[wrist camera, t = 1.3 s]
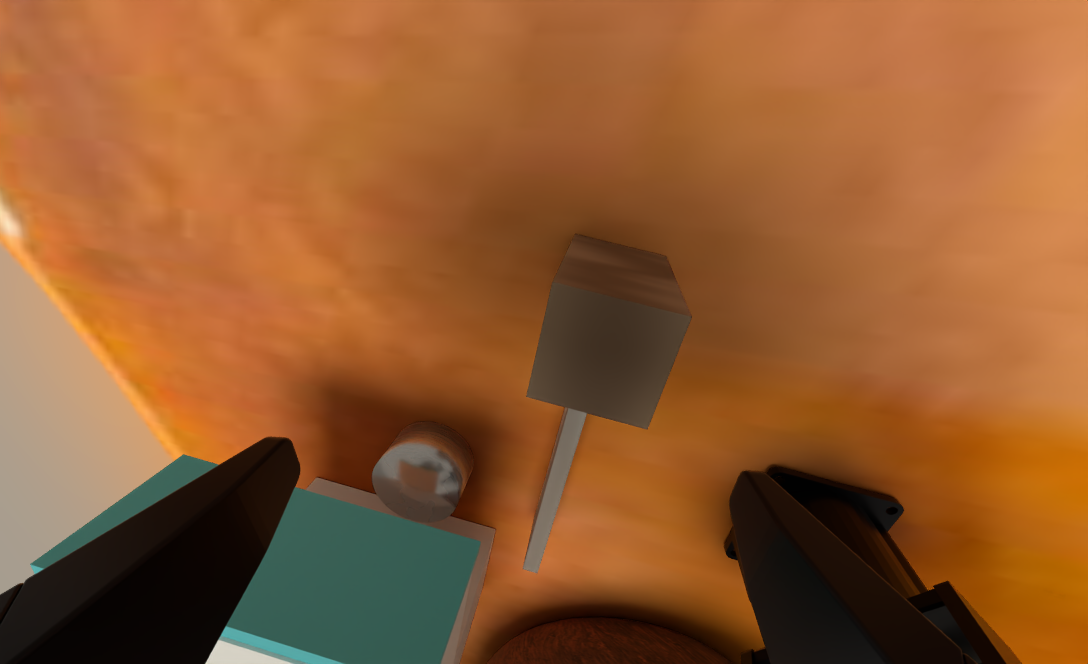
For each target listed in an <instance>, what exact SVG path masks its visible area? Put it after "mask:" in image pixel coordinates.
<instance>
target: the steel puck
mask: <svg viewBox="0 0 1088 664" xmlns="http://www.w3.org/2000/svg"><path fill="white" fill-rule="evenodd" d="M473 467H474V457H473V453H472V451H471V448H470V446H469V445H468V443H467V442H466V441H465V439H464V438H463V437H462V436H461V435H460V434H458V433H457V432H456V431H454V430H453V429H451V428H449V427H447V426H445V425H443V424H440V423H436V422H429V421H422V422H416V423H412V424H410V425H408V426H407V427H405V428H404V429H403V430H402V431H401V432H400V433H399V435H398V436H397V437H396V439H395V440H394V441H393V443H392V444H391V445H390V447H389V448H388V449H387V451H386V452H385V453H384V455H383V456H382V457H381V458H380V460H379V461H378V462H377V464H376V465H375V467H374V469H373V472H372V484H373V487H374V490H375V492H376V494H377V496H378V497H379V499H380V500H381V501H382V502H383V503H384V504H385V505H386V506H387V507H388V508H389V509H390V510H392V511H393V512H395V513H396V514H398V515H400V516H402V517H404V518H406V519H409V520H412V521H416V522H424V523H430V522H437V521H441V520H443V519H445V518H447V517H448V516H450V515H451V514H452V513H453V511H454V510H455V508H456V506H457V504H458V502H459V499H460V497H461V495H462V493H463V490H464V488H465V486H466V484H467V481H468V479H469V477H470V475H471V472H472V470H473Z"/></svg>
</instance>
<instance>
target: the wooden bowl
mask: <svg viewBox="0 0 1088 664" xmlns="http://www.w3.org/2000/svg"><path fill="white" fill-rule="evenodd" d="M486 664H733V663H732V662H730V661H729V660H727V659H726V658H725V657H723V656H722V655H720V654H719V653H717V652H716V651H715V650H713V649H711V648H709V647H708V646H706V645H704V644H702V643H700V642H698V641H696V640H694V639H692V638H690V637H688V636H685V635H683V634H680V633H678V632H675V631H672V630H669V629H666V628H663V627H660V626H656V625H652V624H648V623H643V622H639V621H634V620H626V619H619V618H607V617H583V618H571V619H563V620H558V621H553V622H549V623H546V624H543V625H540V626H537V627H534V628H532V629H530V630H528V631H526V632H524V633H522V634H520V635H518V636H516V637H514V638H513V639H511V640H510V641H509V642H507V643H506V644H505V645H504V646H503V647H501V648H500V649H499V650H498V651H497V652H496V653H495V654H494V655H493V656H492V657H491V658H490V660H489V661H488V662H487V663H486Z"/></svg>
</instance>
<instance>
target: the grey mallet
mask: <svg viewBox="0 0 1088 664" xmlns="http://www.w3.org/2000/svg"><path fill="white" fill-rule="evenodd" d="M691 318H692V316H691V314H690V311H689V309H688V307H687V304H686V302H685V300H684V297H683V295H682V293H681V290H680V288H679V285H678V283H677V281H676V278H675V276H674V274H673V271H672V269H671V267H670V264H669V262H668V260H667V257H666V256H663V255H659V254H655V253H651V252H647V251H643V250H639V249H635V248H631V247H627V246H623V245H619V244H615V243H610V242H606V241H602V240H598V239H594V238H590V237H586V236H582V235H578V234H575V235H574V237H573V239H572V242H571V244H570V246H569V248H568V250H567V252H566V254H565V256H564V258H563V261H562V263H561V265H560V267H559V269H558V271H557V273H556V275H555V278H554V280H553V282H552V286H551V290H550V295H549V299H548V304H547V308H546V312H545V317H544V321H543V326H542V330H541V334H540V339H539V343H538V347H537V352H536V356H535V361H534V365H533V369H532V374H531V378H530V383H529V387H528V391H527V396H526V397H529V398H532V399H536V400H540V401H544V402H547V403H551V404H555V405H558V406H562V407H565V409H564V413H563V417H562V420H561V424H560V427H559V431H558V434H557V438H556V442H555V445H554V449H553V452H552V456H551V459H550V463H549V466H548V470H547V474H546V477H545V481H544V484H543V488H542V491H541V495H540V499H539V502H538V506H537V509H536V513H535V516H534V521H533V525H532V530H531V534H530V539H529V543H528V548H527V552H526V557H525V561H524V566H523V569H524V570H528V571H531V572H535V573H538V570H539V566H540V563H541V560H542V557H543V553H544V550H545V547H546V544H547V541H548V537H549V534H550V531H551V528H552V524H553V521H554V518H555V515H556V512H557V508H558V505H559V502H560V499H561V496H562V492H563V489H564V486H565V483H566V479H567V476H568V473H569V470H570V467H571V463H572V460H573V457H574V454H575V450H576V447H577V444H578V441H579V438H580V434H581V431H582V428H583V425H584V421H585V418H586V415H587V413H588V414H592V415H595V416H599V417H603V418H607V419H610V420H614V421H618V422H621V423H625V424H629V425H632V426H636V427H640V428H644V429H648V427H649V424H650V422H651V419H652V417H653V414H654V412H655V409H656V406H657V404H658V401H659V399H660V396H661V394H662V391H663V389H664V386H665V384H666V381H667V379H668V376H669V374H670V371H671V369H672V366H673V364H674V361H675V358H676V356H677V353H678V351H679V348H680V346H681V343H682V341H683V338H684V336H685V333H686V331H687V328H688V326H689V323H690V321H691Z"/></svg>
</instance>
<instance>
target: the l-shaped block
mask: <svg viewBox="0 0 1088 664" xmlns="http://www.w3.org/2000/svg"><path fill="white" fill-rule="evenodd" d="M216 466H218V464H215V463H211V462H208V461H204V460H201V459H198V458H194V457H191V456H187V455H184V454H183V455H182V456H181V457H179V458H178V459H176V460H175V461H174V462H172V463H171V464H169V465H168V466H167V467H165V468H164V469H163V470H161V471H160V472H159V473H157V474H156V475H154V476H153V477H151V478H150V479H149V480H147V481H146V482H144V483H143V484H142V485H141V486H139V487H137V488H136V489H135V490H133V491H132V492H130V493H129V494H128V495H126V496H125V497H123V498H122V499H121V500H119V501H118V502H116V503H115V504H114V505H112V506H111V507H109V508H108V509H107V510H105V511H104V512H103V513H101V514H100V515H98V516H97V517H96V518H94V519H93V520H92V521H90V522H89V523H87V524H86V525H84V526H83V527H82V528H80V529H79V530H77V531H76V532H75V533H73V534H72V535H70V536H69V537H68V538H66V539H65V540H63V541H62V542H61V543H59V544H58V545H56V546H55V547H54V548H52V549H51V550H49V551H48V552H47V553H45V554H44V555H42V556H41V557H40V558H38V559H37V560H35V561H34V562H33V563H31V564H30V565H31V567H32V569H33V571H34V573H35V574H36V573H38V572H39V571H41V570H43V569H45V568H46V567H48V566H50V565H51V564H53V563H55V562H56V561H58V560H60V559H61V558H63V557H65V556H66V555H68V554H70V553H72V552H73V551H75V550H77V549H78V548H80V547H82V546H83V545H85V544H87V543H88V542H90V541H92V540H93V539H95V538H97V537H98V536H100V535H102V534H104V533H105V532H107V531H109V530H110V529H112V528H114V527H115V526H117V525H119V524H120V523H122V522H124V521H125V520H127V519H129V518H131V517H132V516H134V515H136V514H137V513H139V512H141V511H142V510H144V509H146V508H147V507H149V506H151V505H152V504H154V503H156V502H157V501H159V500H161V499H163V498H164V497H166V496H168V495H169V494H171V493H173V492H174V491H176V490H178V489H179V488H181V487H183V486H184V485H186V484H188V483H189V482H191V481H193V480H195V479H196V478H198V477H200V476H201V475H203V474H205V473H206V472H208V471H210V470H211V469H213V468H215V467H216ZM495 531H496V529H493V528H490V527H486V526H483V525H479V524H476V523H472V522H469V521H466V520H462V519H459V518H455V517H452V516H448V517H447V518H445V519H443V520H441V521H437V522H430V523H424V522H416V521H412V520H409V519H406V518H404V517H402V516H400V515H398V514H396V513H395V512H393V511H392V510H390V509H389V508H388V507H387V506H386V505H385V504H384V503H383V502H382V501H381V500H380V499H379V497H378V496H377V495H376V494H372V493H369V492H366V491H362V490H359V489H355V488H352V487H348V486H345V485H341V484H338V483H335V482H331V481H328V480H324V479H321V478H317V477H316V479H315V480H314V481H313V482H312V483H311V484H310V485H309V486H308V487H307V489H306V490H303V489H300V488H297V487H295V488H294V490H293V493H292V495H291V497H290V500H289V502H288V504H287V507H286V509H285V511H284V514H283V516H282V518H281V521H280V523H279V525H278V527H277V530H276V532H275V534H274V537H273V539H272V541H271V543H270V546H269V548H268V550H267V552H266V554H265V556H264V558H263V560H262V562H261V564H260V565H259V567H258V569H257V571H256V573H255V574H254V576H253V578H252V580H251V582H250V584H249V585H248V587H247V589H246V591H245V593H244V594H243V596H242V598H241V600H240V602H239V604H238V605H237V607H236V609H235V611H234V613H233V614H232V616H231V618H230V620H229V622H228V623H227V625H226V627H225V629H224V631H223V633H222V634H221V636H220V638H219V640H218V642H217V643H216V645H215V647H214V649H213V651H212V652H211V654H210V656H209V658H208V660H207V662H206V663H205V664H460V660H461V657H462V654H463V651H464V647H465V644H466V641H467V637H468V634H469V631H470V628H471V624H472V621H473V618H474V615H475V611H476V608H477V605H478V601H479V598H480V595H481V592H482V588H483V584H484V579H485V575H486V571H487V566H488V562H489V557H490V553H491V549H492V544H493V540H494V536H495Z"/></svg>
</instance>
